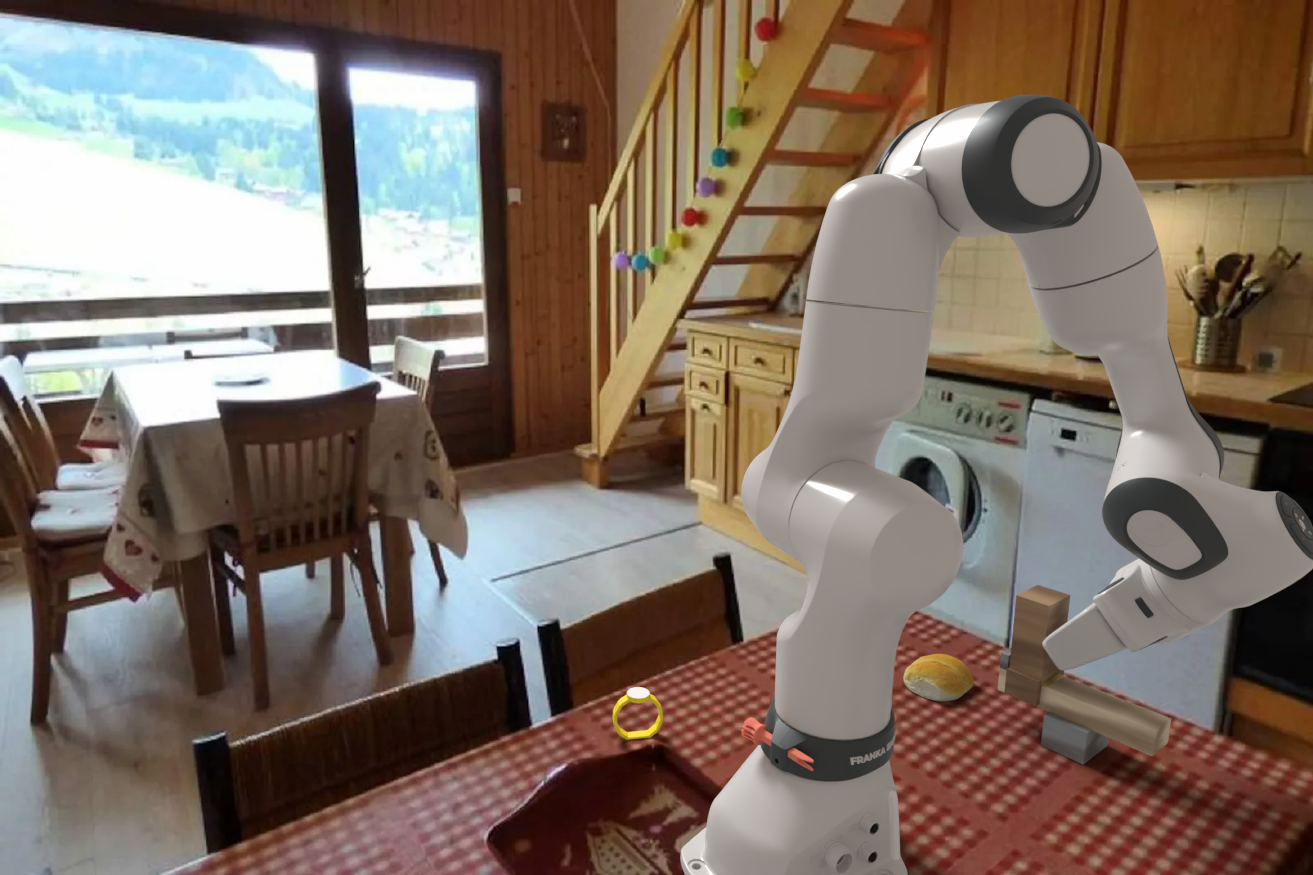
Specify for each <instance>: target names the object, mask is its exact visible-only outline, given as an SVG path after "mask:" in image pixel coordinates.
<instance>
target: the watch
mask: <svg viewBox="0 0 1313 875" xmlns="http://www.w3.org/2000/svg"><path fill="white" fill-rule="evenodd" d="M649 690H650V689H647V688H645V687H640V686H634V687H631V688H628V689H627V691H626V694H625V695H624V696H622V697H620V698H619V699H618V701H617V702H616V703H615V705H614V707H613V709H612V723H613V727H614V730H616V732H617V735H618V736H619V737H621V738H623V739H625V740H626V741H632V740H638V739H651V738H652V737H654V736H655V735H656V734H657V733H658V732H659V731H660V729H661V727H662V724H663V723H664V712H663V711H664V710H663V708H662V704H661V702H659V700H658V699H657V697H656V696H655V695H653V694H651V692H650V691H649ZM646 702H650V703H652V704H654V705H655V707H656V709H657V712H658V715H657V718H656V720H655V722H654V723H653V724H652V725H651V726H650V727H649V728H648V729H645V730H636V731H626V730H625V729H623V728H622V727H621V726H620V725H619V722H618V715H619V713H620V712H621V710H622V708H623V707H624V706H625V705H627V704H629V703H633V704H644V703H646Z"/></svg>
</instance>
